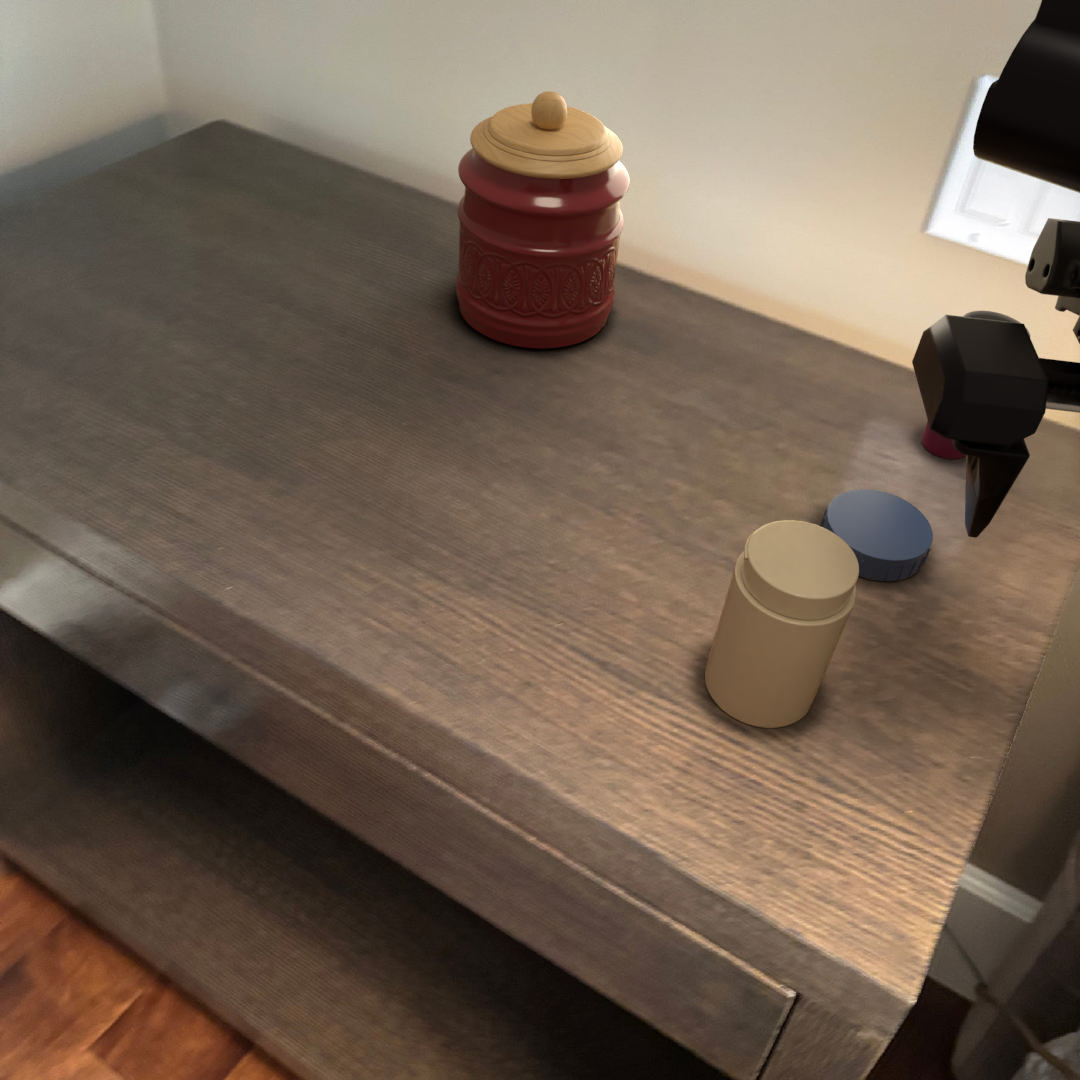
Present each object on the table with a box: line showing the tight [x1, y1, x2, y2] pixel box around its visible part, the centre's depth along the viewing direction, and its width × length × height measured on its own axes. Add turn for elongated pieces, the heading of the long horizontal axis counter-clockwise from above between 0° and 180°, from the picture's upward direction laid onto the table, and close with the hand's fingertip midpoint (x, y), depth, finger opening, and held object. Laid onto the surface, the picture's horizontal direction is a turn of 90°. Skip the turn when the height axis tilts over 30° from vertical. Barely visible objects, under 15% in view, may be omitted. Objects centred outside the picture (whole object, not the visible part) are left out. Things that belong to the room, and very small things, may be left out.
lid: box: [820, 488, 934, 582], centre depth 67 cm, size 7×7×2 cm
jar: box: [704, 519, 860, 729], centre depth 55 cm, size 6×6×10 cm
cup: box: [921, 310, 1031, 460], centre depth 72 cm, size 4×4×10 cm
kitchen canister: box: [455, 90, 631, 349], centre depth 79 cm, size 13×13×18 cm
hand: (1066, 543), depth 49 cm, fingers open, 9 cm apart
